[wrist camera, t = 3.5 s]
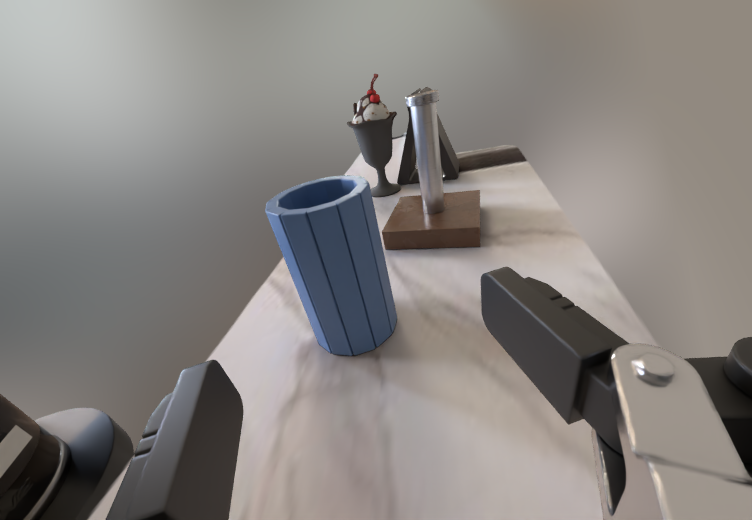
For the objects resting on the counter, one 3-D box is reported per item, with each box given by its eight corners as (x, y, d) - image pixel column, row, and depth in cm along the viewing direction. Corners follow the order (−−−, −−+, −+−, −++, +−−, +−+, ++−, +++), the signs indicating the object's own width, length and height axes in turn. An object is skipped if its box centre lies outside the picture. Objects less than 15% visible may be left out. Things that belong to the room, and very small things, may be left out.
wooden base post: (385, 249, 31) (356, 110, 25) (402, 212, 38) (384, 97, 32) (480, 246, 28) (476, 88, 22) (480, 206, 35) (477, 78, 29)
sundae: (407, 194, 43) (389, 70, 36) (360, 202, 44) (333, 83, 37) (407, 180, 49) (391, 70, 41) (365, 186, 50) (342, 81, 42)
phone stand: (460, 166, 49) (455, 80, 43) (458, 178, 45) (452, 84, 39) (404, 172, 52) (393, 93, 46) (397, 185, 48) (383, 98, 41)
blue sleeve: (303, 352, 21) (243, 217, 16) (335, 297, 26) (296, 180, 21) (385, 359, 19) (346, 210, 14) (403, 299, 24) (379, 170, 19)
